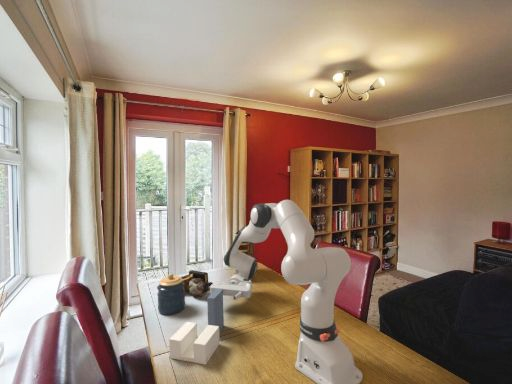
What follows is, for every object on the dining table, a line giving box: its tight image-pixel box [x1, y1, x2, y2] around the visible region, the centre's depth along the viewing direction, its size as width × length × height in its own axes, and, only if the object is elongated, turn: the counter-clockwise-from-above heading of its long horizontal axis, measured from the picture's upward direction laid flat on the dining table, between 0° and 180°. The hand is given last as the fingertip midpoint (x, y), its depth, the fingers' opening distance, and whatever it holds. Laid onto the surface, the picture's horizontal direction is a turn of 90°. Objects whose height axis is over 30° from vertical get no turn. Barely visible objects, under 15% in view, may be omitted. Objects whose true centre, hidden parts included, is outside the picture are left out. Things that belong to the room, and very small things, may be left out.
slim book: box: [206, 289, 225, 332], centre depth 113 cm, size 3×9×16 cm, turn 164°
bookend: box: [181, 269, 214, 298], centre depth 151 cm, size 15×11×25 cm
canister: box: [156, 273, 186, 316], centre depth 133 cm, size 13×13×18 cm
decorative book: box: [233, 228, 255, 274], centre depth 175 cm, size 22×8×30 cm, turn 168°
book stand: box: [169, 321, 221, 366], centre depth 100 cm, size 14×12×7 cm
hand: (225, 296), depth 123 cm, fingers open, 8 cm apart
